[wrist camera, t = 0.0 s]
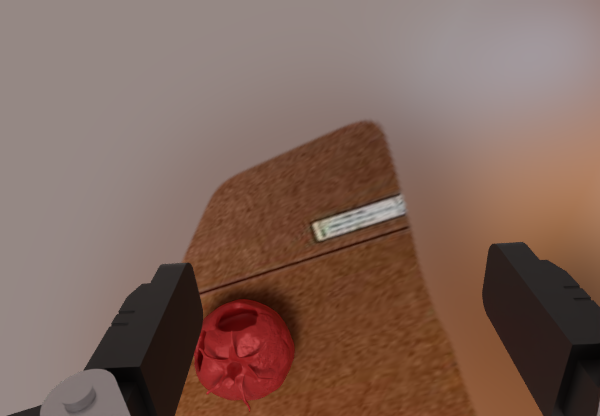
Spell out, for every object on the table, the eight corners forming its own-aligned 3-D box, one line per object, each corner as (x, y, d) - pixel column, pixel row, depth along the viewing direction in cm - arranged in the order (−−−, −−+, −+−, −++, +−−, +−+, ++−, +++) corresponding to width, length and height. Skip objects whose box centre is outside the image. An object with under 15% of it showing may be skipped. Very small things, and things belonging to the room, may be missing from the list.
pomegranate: (313, 342, 45) (314, 390, 35) (242, 396, 46) (225, 456, 36) (254, 271, 44) (240, 302, 35) (183, 328, 45) (151, 372, 36)
